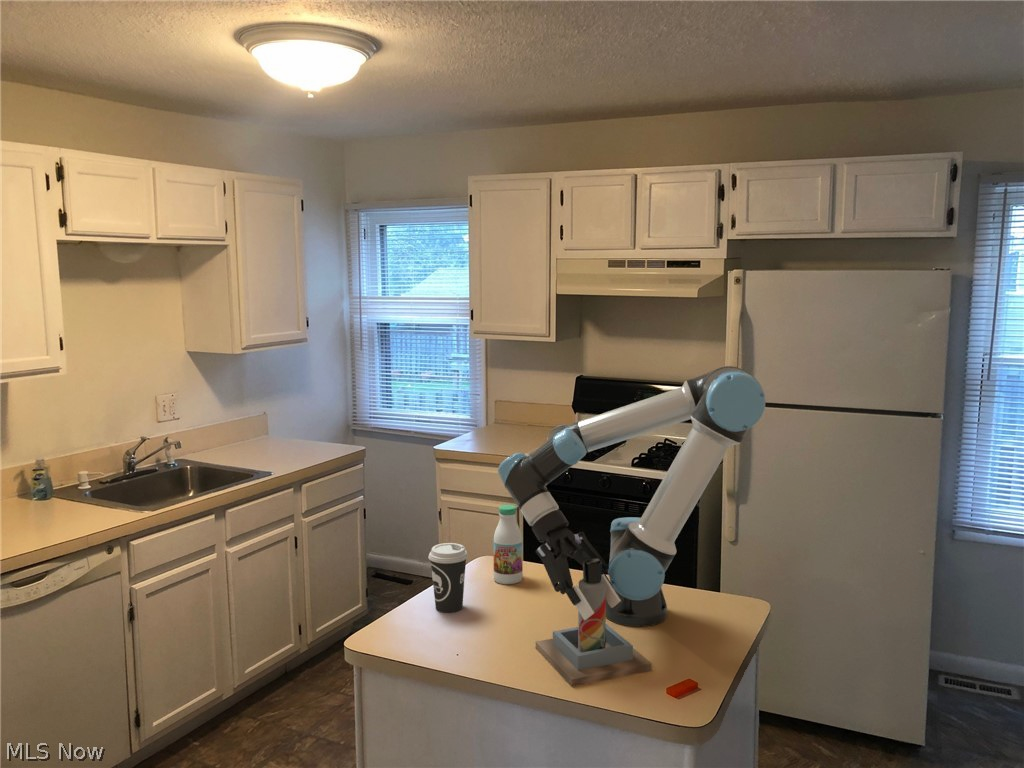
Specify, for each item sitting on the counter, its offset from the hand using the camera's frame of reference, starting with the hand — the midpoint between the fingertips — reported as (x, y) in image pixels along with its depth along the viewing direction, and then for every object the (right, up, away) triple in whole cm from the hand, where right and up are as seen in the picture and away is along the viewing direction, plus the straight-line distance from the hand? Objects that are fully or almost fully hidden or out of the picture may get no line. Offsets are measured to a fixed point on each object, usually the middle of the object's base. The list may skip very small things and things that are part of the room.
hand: (603, 610), depth 164 cm
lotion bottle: (-2, -10, +4) cm, 11 cm away
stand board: (-2, -11, +4) cm, 12 cm away
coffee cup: (-34, -8, +31) cm, 47 cm away
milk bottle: (-20, -6, +49) cm, 54 cm away
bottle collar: (-2, -10, +4) cm, 11 cm away
